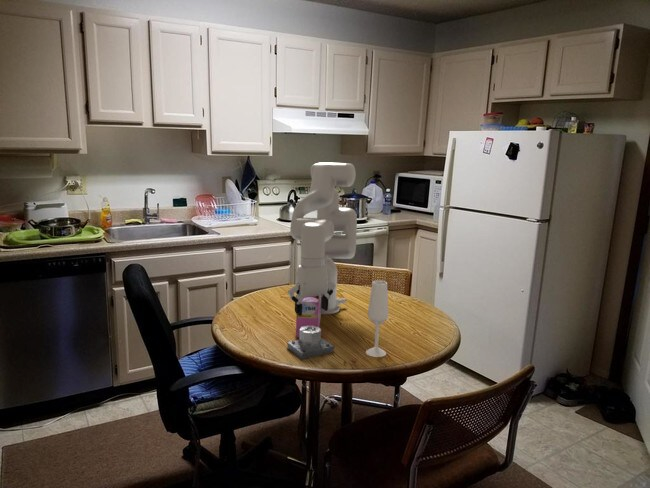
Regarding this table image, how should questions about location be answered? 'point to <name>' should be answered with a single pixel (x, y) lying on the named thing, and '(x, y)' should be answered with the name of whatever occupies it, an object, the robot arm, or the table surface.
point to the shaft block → (310, 352)
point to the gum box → (309, 313)
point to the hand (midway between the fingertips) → (311, 311)
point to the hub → (310, 336)
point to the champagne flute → (378, 313)
